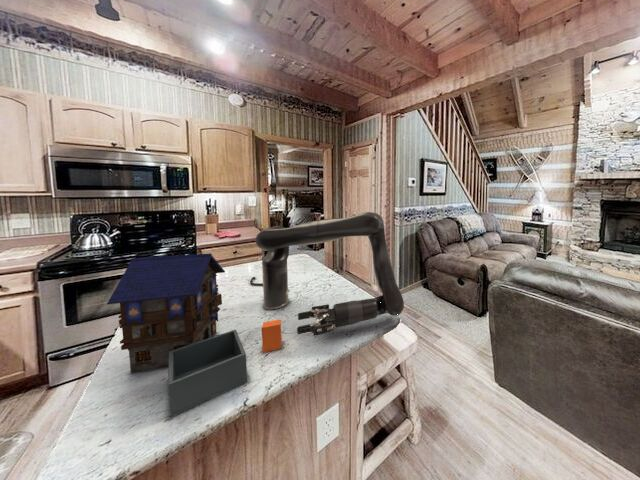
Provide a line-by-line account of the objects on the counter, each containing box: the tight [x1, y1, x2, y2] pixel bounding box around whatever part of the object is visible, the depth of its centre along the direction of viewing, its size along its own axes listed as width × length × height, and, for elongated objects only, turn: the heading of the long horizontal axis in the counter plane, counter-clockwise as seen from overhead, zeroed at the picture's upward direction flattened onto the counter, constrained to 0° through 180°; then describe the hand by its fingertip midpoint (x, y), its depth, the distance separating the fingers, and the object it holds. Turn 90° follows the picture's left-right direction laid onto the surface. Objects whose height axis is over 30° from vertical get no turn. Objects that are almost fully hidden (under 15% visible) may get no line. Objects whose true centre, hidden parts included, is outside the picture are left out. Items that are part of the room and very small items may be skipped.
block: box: [261, 318, 283, 354], centre depth 79 cm, size 3×5×8 cm, turn 113°
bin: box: [167, 329, 248, 418], centre depth 66 cm, size 15×15×8 cm
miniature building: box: [106, 252, 226, 374], centre depth 76 cm, size 19×21×30 cm
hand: (297, 323), depth 82 cm, fingers open, 8 cm apart
